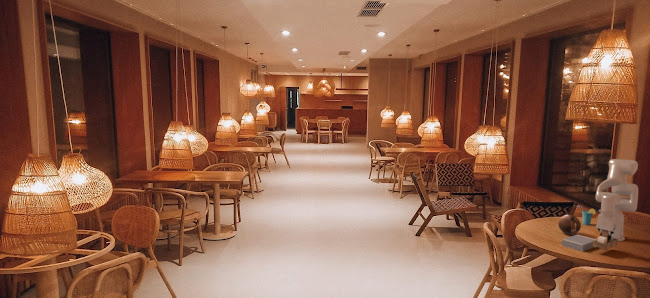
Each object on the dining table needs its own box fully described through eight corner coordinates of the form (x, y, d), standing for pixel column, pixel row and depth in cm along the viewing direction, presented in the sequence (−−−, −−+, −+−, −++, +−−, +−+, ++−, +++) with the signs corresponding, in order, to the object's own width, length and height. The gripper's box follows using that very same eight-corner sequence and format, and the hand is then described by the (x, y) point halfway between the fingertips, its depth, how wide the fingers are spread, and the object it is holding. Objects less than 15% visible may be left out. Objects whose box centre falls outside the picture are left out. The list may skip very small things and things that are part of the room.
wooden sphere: (557, 230, 335) (558, 211, 333) (579, 232, 328) (580, 213, 326) (558, 235, 322) (559, 216, 320) (580, 238, 315) (582, 218, 313)
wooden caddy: (604, 241, 294) (605, 226, 292) (617, 245, 287) (618, 229, 286) (592, 247, 285) (593, 231, 283) (605, 250, 278) (606, 234, 277)
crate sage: (607, 238, 291) (607, 233, 290) (613, 240, 287) (613, 234, 287) (604, 240, 289) (604, 234, 288) (610, 241, 285) (611, 236, 285)
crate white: (600, 241, 286) (600, 236, 285) (606, 243, 282) (607, 237, 282) (597, 243, 284) (597, 237, 283) (603, 244, 280) (604, 239, 280)
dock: (576, 240, 310) (576, 234, 310) (597, 245, 298) (597, 239, 298) (561, 245, 299) (562, 239, 299) (582, 251, 288) (582, 245, 287)
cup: (575, 224, 351) (576, 206, 349) (575, 221, 357) (577, 204, 355) (594, 226, 343) (596, 208, 341) (595, 224, 349) (596, 206, 347)
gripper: (591, 211, 288) (589, 237, 290) (618, 217, 274) (616, 244, 276) (596, 209, 292) (595, 234, 294) (623, 215, 278) (621, 241, 280)
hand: (605, 239), depth 285 cm, fingers closed on wooden caddy, 3 cm apart
